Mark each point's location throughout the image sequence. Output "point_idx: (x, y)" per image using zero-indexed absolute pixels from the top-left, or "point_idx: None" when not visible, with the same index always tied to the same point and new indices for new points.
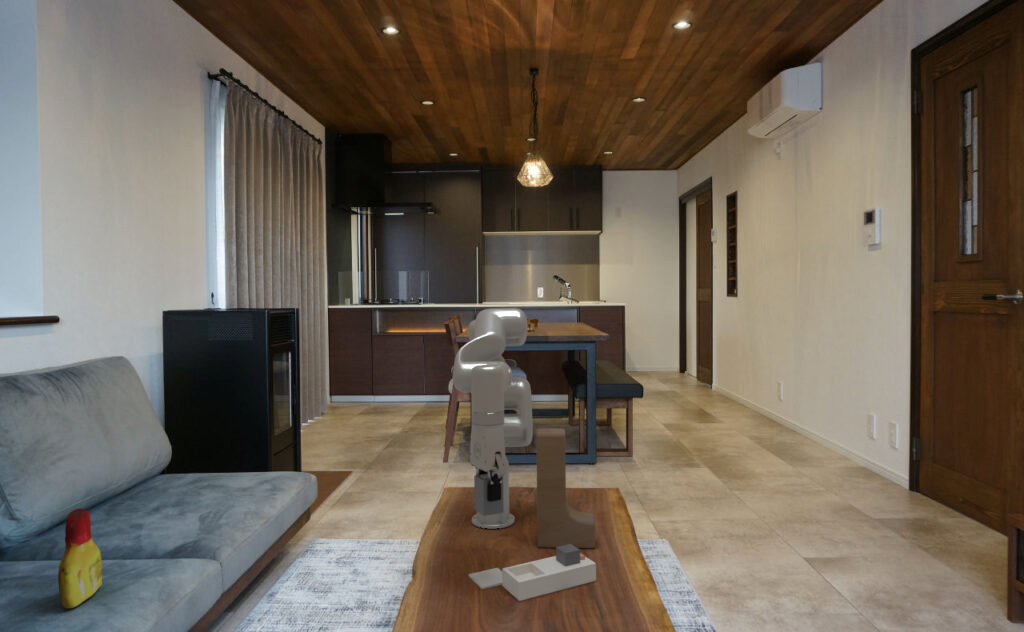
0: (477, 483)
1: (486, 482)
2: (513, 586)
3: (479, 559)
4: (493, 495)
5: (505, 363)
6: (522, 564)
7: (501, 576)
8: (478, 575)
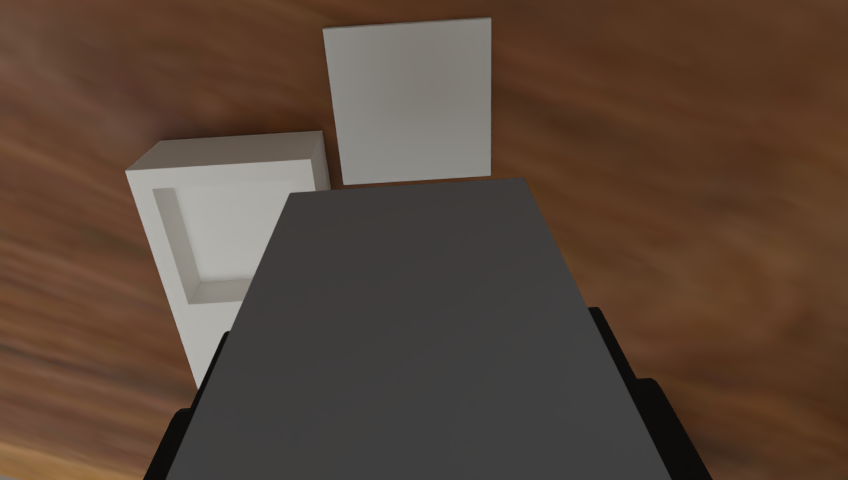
0: (476, 417)
1: None
2: (200, 151)
3: (638, 138)
4: (168, 432)
5: None
6: None
7: (394, 157)
8: (454, 61)
